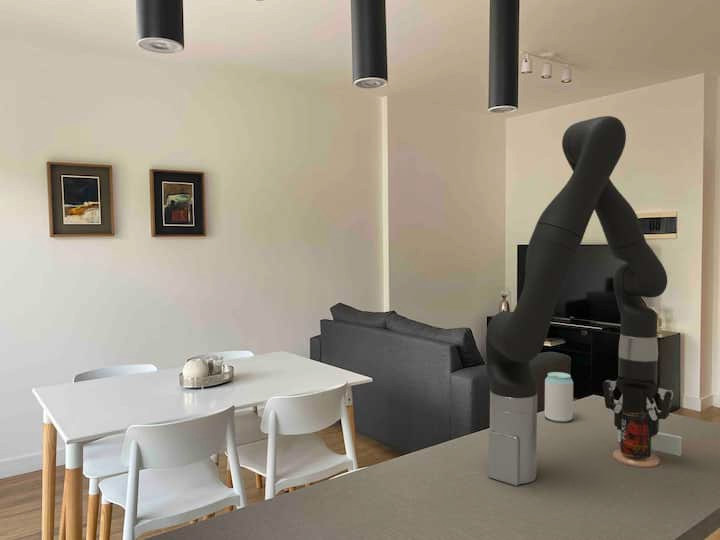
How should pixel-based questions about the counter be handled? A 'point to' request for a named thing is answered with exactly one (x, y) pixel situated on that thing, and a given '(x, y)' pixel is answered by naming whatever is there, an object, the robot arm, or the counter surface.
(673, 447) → the acrylic wall
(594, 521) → the counter surface
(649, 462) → the coaster
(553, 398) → the can
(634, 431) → the deodorant
